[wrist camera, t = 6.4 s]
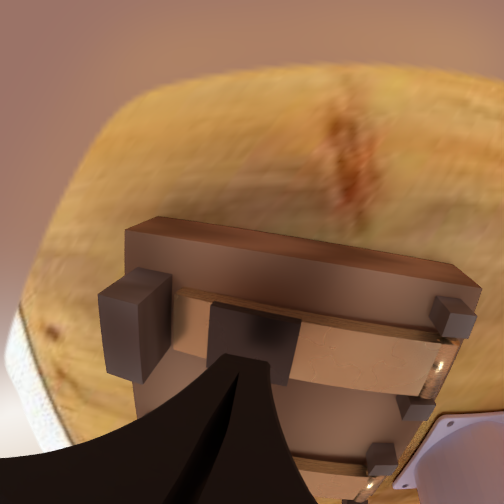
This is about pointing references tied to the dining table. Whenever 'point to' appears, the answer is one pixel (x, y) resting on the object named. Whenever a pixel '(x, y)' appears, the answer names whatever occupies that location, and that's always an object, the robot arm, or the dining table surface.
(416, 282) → the brown strap fixture board
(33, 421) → the dining table surface
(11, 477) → the robot arm
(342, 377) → the near strap
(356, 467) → the far strap
